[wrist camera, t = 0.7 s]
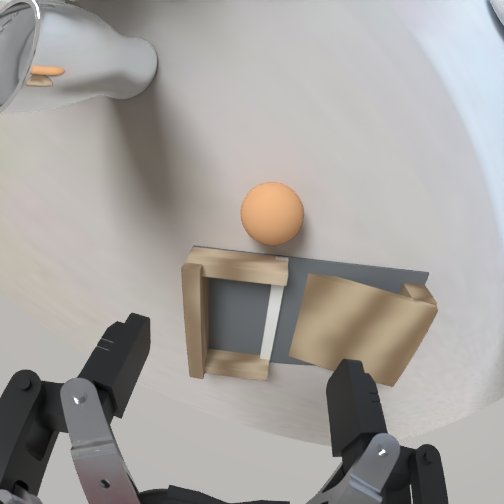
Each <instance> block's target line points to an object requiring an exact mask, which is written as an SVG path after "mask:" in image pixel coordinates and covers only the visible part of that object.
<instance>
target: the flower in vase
mask: <svg viewBox="0 0 504 504" xmlns="http://www.w3.org/2000/svg"><path fill="white" fill-rule="evenodd" d="M490 2H491V5H492V7H493V9H494V11H495V13H496V14H497V16H498V18H499V20H500V21H501V23H502V24H503V26H504V0H490Z"/></svg>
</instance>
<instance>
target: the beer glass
mask: <svg viewBox="0 0 504 504" xmlns="http://www.w3.org/2000/svg"><path fill="white" fill-rule="evenodd" d="M156 69H157V55H156V52H155V50H154V48H153V46H152V45H151V44H150V43H149V42H147V41H146V40H144V39H141V38H136V37H124V36H122V35H121V34H119V33H118V32H117V31H116V30H115V29H113V28H112V27H111V26H110V25H109V24H107V23H106V22H105V21H104V20H102V19H101V18H99V17H98V16H96V15H95V14H93V13H92V12H89V11H87V10H85V9H82V8H80V7H78V6H74V5H71V4H67V3H64V2H59V1H53V0H12V1H11V2H9V3H8V4H6V5H5V6H4V7H3V8H2V9H1V10H0V115H8V114H21V113H31V112H40V111H46V110H51V109H57V108H61V107H64V106H67V105H71V104H74V103H77V102H80V101H83V100H86V99H89V98H92V97H95V96H99V95H105V96H108V97H111V98H114V99H129V98H132V97H134V96H136V95H138V94H140V93H141V92H142V91H144V90H145V89H146V88H147V87H148V85H149V84H150V83H151V81H152V79H153V77H154V75H155V73H156Z"/></svg>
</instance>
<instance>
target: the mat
mask: <svg viewBox="0 0 504 504" xmlns="http://www.w3.org/2000/svg"><path fill="white" fill-rule="evenodd" d="M193 247H199V246H193ZM199 248H208V247H199ZM208 249H216V248H208ZM216 250H225V249H216ZM225 251H234V250H225ZM234 252H243V251H234ZM243 253H252V252H243ZM252 254H261V253H252ZM261 255H269V256H276V259H277V260H286V261H288V279H287V285H286V286H282V285H273V284H263V283H255V282H246V281H237V280H229V279H221V278H213V277H209V349H216V350H223V351H230V352H238V353H247V354H256V355H260V359H269V362H273V363H285V364H299V365H314V364H311V363H308V362H305V361H302V360H299V359H296V358H293V357H290V356H288V355H289V351H290V348H291V344H292V340H293V336H294V332H295V328H296V324H297V320H298V316H299V312H300V308H301V304H302V299H303V295H304V291H305V286H306V282H307V277H308V274H317V275H327V276H337V277H340V278H344V279H347V280H351V281H354V282H357V283H361V284H364V285H368V286H371V287H375V288H378V289H382V290H385V291H388V292H392V293H395V294H399V292H400V289H401V287H402V284H403V283H409V284H420V285H425V283H426V280H427V278H428V276H429V272H421V271H412V270H403V269H394V268H385V267H376V266H367V265H358V264H349V263H340V262H332V261H323V260H314V259H305V258H296V257H287V256H278V255H270V254H261ZM284 257H286V258H284Z"/></svg>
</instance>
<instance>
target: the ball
mask: <svg viewBox="0 0 504 504" xmlns="http://www.w3.org/2000/svg"><path fill="white" fill-rule="evenodd" d="M303 217H304V211H303V205H302V202H301V200H300V198H299V197H298V195H297V194H296V193H295V192H294V191H293V190H292V189H291V188H289V187H288V186H286V185H284V184H281V183H276V182H268V183H263V184H260V185H258V186H256V187H255V188H253V189H252V190H251V191H250V192H249V193H248V194H247V195H246V197H245V199H244V201H243V203H242V206H241V220H242V224H243V226H244V228H245V230H246V232H247V233H248V234H249V235H250V236H251V237H252V238H253V239H254V240H256V241H258V242H260V243H263V244H267V245H278V244H282V243H285V242H287V241H289V240H290V239H291V238H293V237H294V236H295V235H296V234H297V232H298V231H299V229H300V228H301V225H302V222H303Z"/></svg>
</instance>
